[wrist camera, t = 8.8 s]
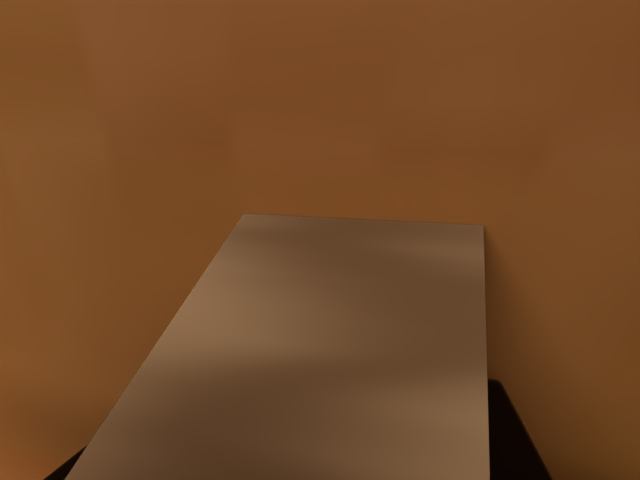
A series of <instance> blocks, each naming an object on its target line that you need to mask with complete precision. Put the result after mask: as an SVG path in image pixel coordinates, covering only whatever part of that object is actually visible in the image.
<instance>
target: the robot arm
mask: <svg viewBox="0 0 640 480" xmlns="http://www.w3.org/2000/svg"><path fill="white" fill-rule="evenodd" d="M487 383H488V424H489V465H490V480H553V479H552V477H551V475H550V473H549V472H548V470H547V468H546V466H545V464H544V462H543V460H542V458H541V457H540V455H539V453H538V451H537V449H536V447H535V445H534V443H533V441H532V440H531V438H530V436H529V434H528V432H527V430H526V428H525V426H524V424H523V423H522V421H521V419H520V417H519V415H518V413H517V411H516V409H515V407H514V406H513V404H512V402H511V400H510V398H509V396H508V394H507V392H506V391H505V389H504V387H503V385H502V384H501V382H500V381H498V380H496V379H488V378H487ZM86 447H87V446H85V447H84V448H83V449H82V450H80V451H79V452H78V453H76V454H75V455H74V456H73V457H71V458H70V459H69V460H68V461H66V462H65V463H64V464H63V465H61V466H60V467H59V468H58V469H56V470H55V471H54V472H53V473H51V474H50V475H49V476H47V477H46V478H45V479H44V480H65V478H66V477H67V475H68V474H69V472H70V471H71V469H72V468H73V466H74V465H75V463H76V462H77V460H78V459H79V457H80V456H81V454H82V453H83V451H84V450H85V448H86Z"/></svg>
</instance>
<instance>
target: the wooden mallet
mask: <svg viewBox="0 0 640 480" xmlns="http://www.w3.org/2000/svg"><path fill="white" fill-rule="evenodd" d="M65 480H490V465H489V424H488V383H487V343H486V302H485V261H484V225H469V224H448V223H428V222H407V221H387V220H366V219H345V218H325V217H304V216H283V215H263V214H243V215H242V217H241V218H240V220H239V221H238V223H237V224H236V225H235V227H234V228H233V230H232V231H231V233H230V234H229V236H228V237H227V239H226V240H225V242H224V243H223V245H222V246H221V248H220V249H219V251H218V252H217V254H216V255H215V257H214V258H213V260H212V261H211V263H210V264H209V266H208V267H207V269H206V270H205V272H204V273H203V275H202V276H201V278H200V279H199V280H198V282H197V283H196V285H195V286H194V288H193V289H192V291H191V292H190V294H189V295H188V297H187V298H186V300H185V301H184V303H183V304H182V306H181V307H180V309H179V310H178V312H177V313H176V315H175V316H174V318H173V319H172V321H171V322H170V324H169V325H168V327H167V328H166V330H165V331H164V333H163V334H162V335H161V337H160V338H159V340H158V341H157V343H156V344H155V346H154V347H153V349H152V350H151V352H150V353H149V355H148V356H147V358H146V359H145V361H144V362H143V364H142V365H141V367H140V368H139V370H138V371H137V373H136V374H135V376H134V377H133V379H132V380H131V382H130V383H129V385H128V386H127V388H126V389H125V390H124V392H123V393H122V395H121V396H120V398H119V399H118V401H117V402H116V404H115V405H114V407H113V408H112V410H111V411H110V413H109V414H108V416H107V417H106V419H105V420H104V422H103V423H102V425H101V426H100V428H99V429H98V431H97V432H96V434H95V435H94V437H93V438H92V440H91V441H90V443H89V444H88V445H87V447H86V448H85V450H84V451H83V453H82V454H81V456H80V457H79V459H78V460H77V462H76V463H75V465H74V466H73V468H72V469H71V471H70V472H69V474H68V475H67V477H66V478H65Z"/></svg>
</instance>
